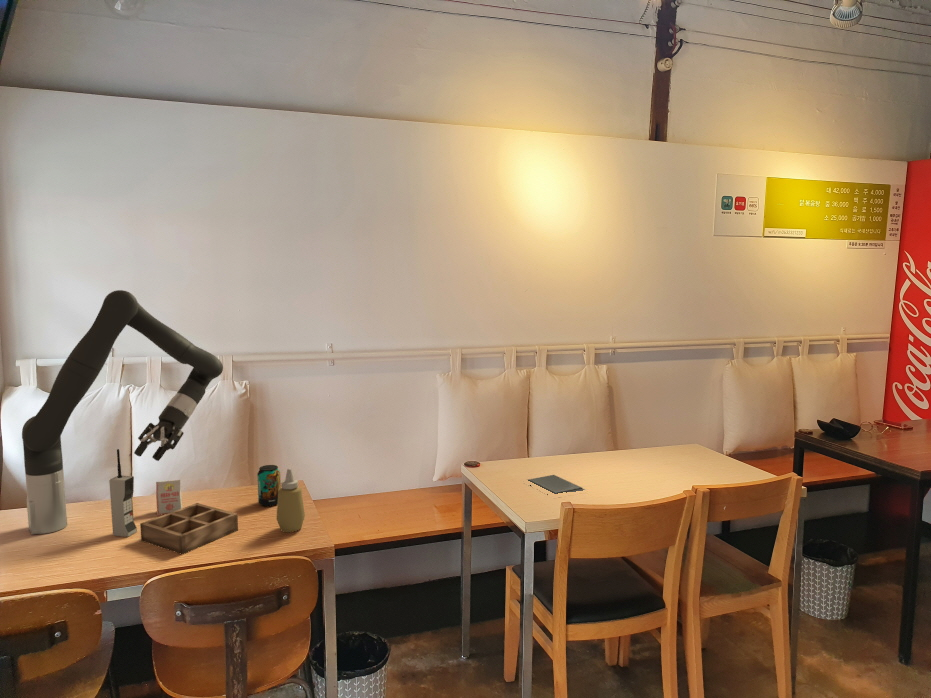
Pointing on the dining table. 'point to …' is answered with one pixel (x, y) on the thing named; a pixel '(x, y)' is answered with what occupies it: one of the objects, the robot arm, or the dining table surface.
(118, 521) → the vintage mobile phone
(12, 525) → the dining table surface
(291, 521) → the squeeze bottle
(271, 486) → the beverage can
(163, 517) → the wooden compartment tray
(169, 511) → the tea bag
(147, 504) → the dining table surface
